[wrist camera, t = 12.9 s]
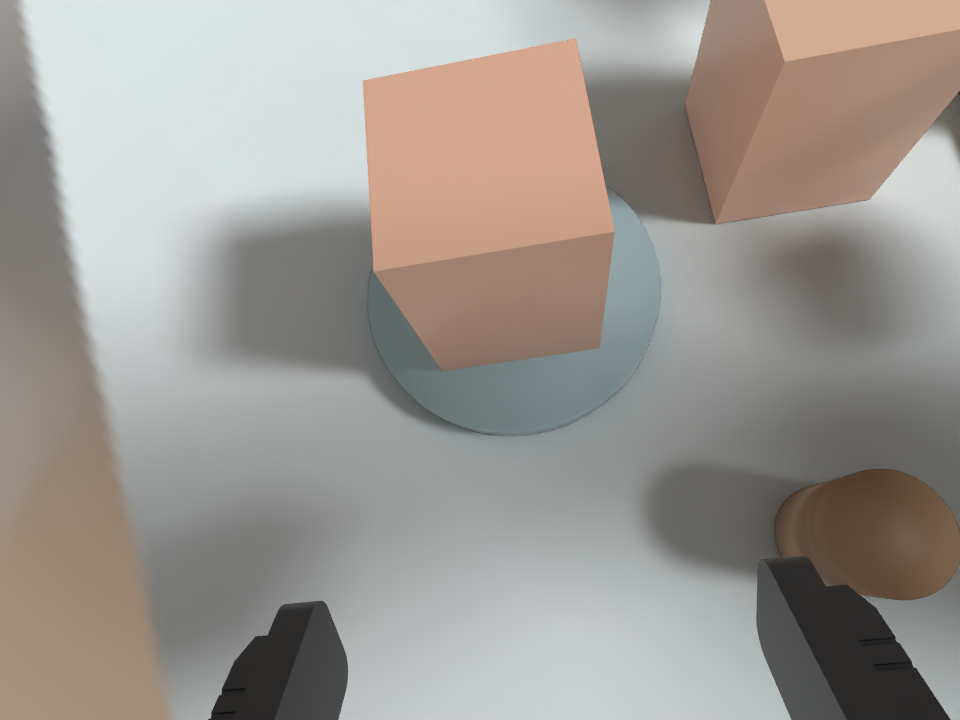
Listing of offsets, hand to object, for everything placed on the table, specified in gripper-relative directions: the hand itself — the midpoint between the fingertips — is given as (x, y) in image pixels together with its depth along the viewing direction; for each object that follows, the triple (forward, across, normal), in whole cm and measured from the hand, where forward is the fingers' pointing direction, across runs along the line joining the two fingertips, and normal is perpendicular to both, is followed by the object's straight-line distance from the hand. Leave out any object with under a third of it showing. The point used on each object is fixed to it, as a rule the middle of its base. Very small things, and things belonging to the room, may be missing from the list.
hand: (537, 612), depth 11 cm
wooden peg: (+9, -10, +8) cm, 15 cm away
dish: (+17, 0, 0) cm, 17 cm away
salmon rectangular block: (+16, 0, -1) cm, 16 cm away
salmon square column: (+20, -12, -4) cm, 24 cm away
